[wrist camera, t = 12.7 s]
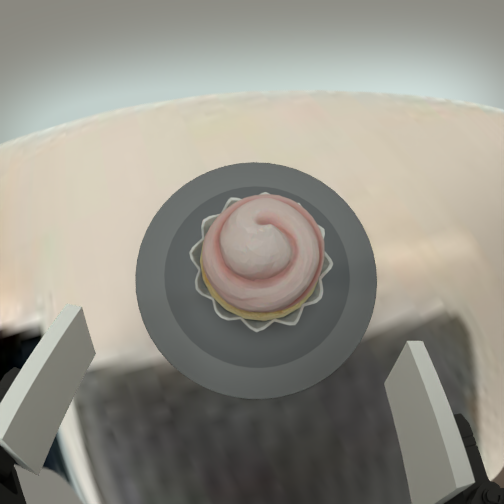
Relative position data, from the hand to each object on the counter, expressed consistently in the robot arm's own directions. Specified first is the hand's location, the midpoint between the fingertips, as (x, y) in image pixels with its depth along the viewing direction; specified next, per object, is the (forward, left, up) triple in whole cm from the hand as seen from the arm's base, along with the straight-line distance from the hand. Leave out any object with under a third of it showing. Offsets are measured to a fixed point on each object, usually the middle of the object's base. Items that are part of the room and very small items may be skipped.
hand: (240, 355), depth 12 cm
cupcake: (+1, -6, -13) cm, 14 cm away
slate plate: (+1, -6, -14) cm, 15 cm away
